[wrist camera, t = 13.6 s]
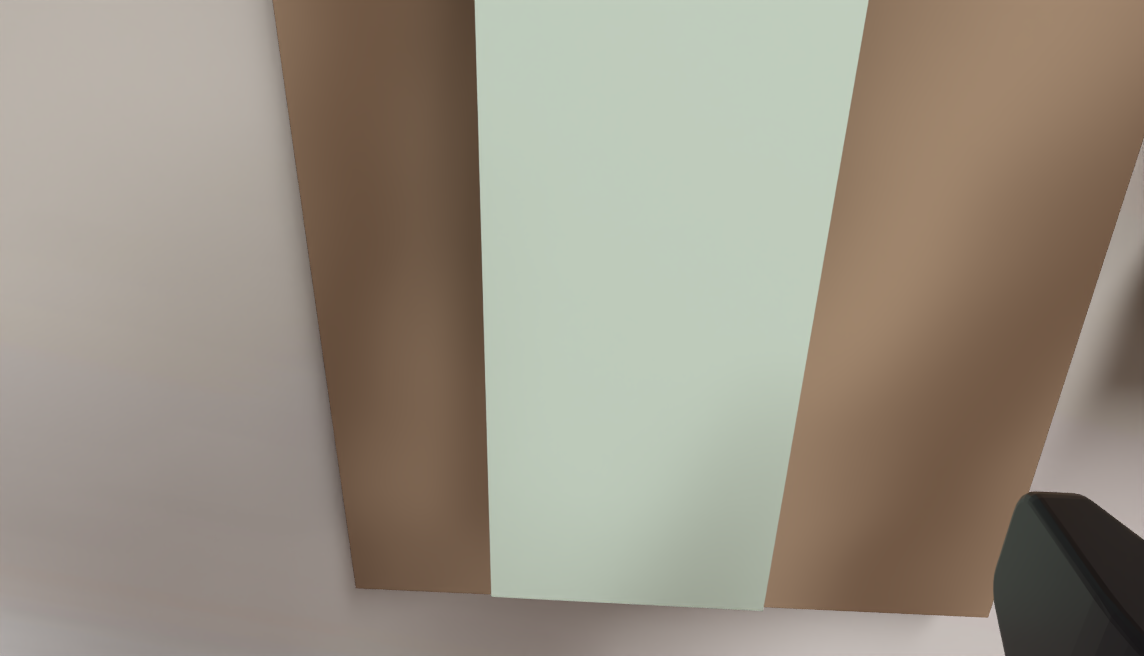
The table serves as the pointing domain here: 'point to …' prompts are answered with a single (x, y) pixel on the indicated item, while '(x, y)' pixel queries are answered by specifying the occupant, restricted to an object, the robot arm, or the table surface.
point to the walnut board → (844, 303)
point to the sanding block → (651, 283)
